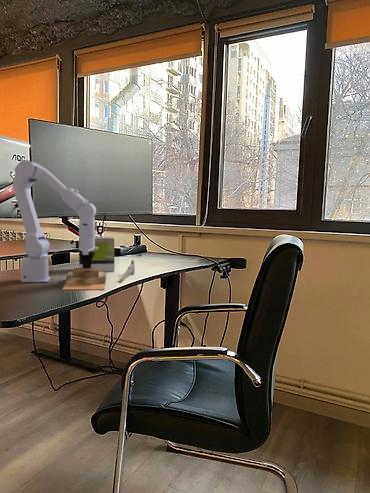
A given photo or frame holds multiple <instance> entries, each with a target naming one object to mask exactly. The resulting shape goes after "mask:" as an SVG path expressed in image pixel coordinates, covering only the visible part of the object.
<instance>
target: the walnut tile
mask: <svg viewBox="0 0 370 493" xmlns="http://www.w3.org/2000/svg"><path fill="white" fill-rule="evenodd" d="M71 272H72V275H73V278H98V277H99V268H79V267H74V268H73V270H71Z"/></svg>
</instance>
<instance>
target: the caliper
mask: <svg viewBox="0 0 370 493" xmlns="http://www.w3.org/2000/svg"><path fill="white" fill-rule="evenodd" d="M135 264H136V262H135V260H134V259H132V260H131V261H130V264H129V265H128V267H127V269H126V270H125V272H123V274H122V275H121V276H120V278H119V279H118V280H119V281H118V284H121V283H123V282H124V281H125V279H127V277H128V275H135V272H136V271H135V270H136V265H135Z"/></svg>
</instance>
